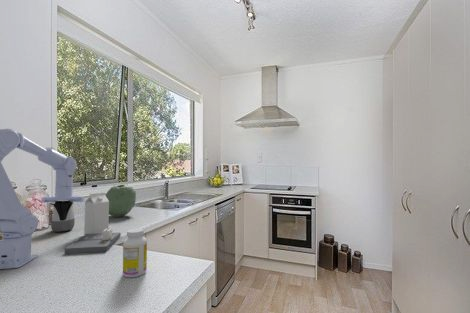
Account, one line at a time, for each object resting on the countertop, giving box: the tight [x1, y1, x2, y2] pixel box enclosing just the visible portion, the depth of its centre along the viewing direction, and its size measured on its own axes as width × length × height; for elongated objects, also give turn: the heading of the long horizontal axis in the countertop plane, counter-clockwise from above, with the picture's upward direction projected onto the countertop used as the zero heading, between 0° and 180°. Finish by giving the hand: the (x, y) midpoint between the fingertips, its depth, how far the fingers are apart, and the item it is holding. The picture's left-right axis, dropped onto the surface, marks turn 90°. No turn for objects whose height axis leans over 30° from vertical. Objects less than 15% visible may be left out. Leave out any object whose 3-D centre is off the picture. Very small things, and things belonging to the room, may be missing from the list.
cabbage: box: [105, 183, 137, 218], centre depth 146 cm, size 16×19×20 cm
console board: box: [64, 232, 121, 255], centre depth 95 cm, size 18×14×3 cm
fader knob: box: [102, 227, 113, 240], centre depth 96 cm, size 4×2×4 cm, turn 11°
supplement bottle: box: [122, 227, 148, 278], centre depth 71 cm, size 7×7×13 cm
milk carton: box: [83, 191, 110, 236], centre depth 109 cm, size 7×7×19 cm
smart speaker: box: [50, 203, 76, 233], centre depth 115 cm, size 10×9×14 cm
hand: (63, 220), depth 95 cm, fingers closed
